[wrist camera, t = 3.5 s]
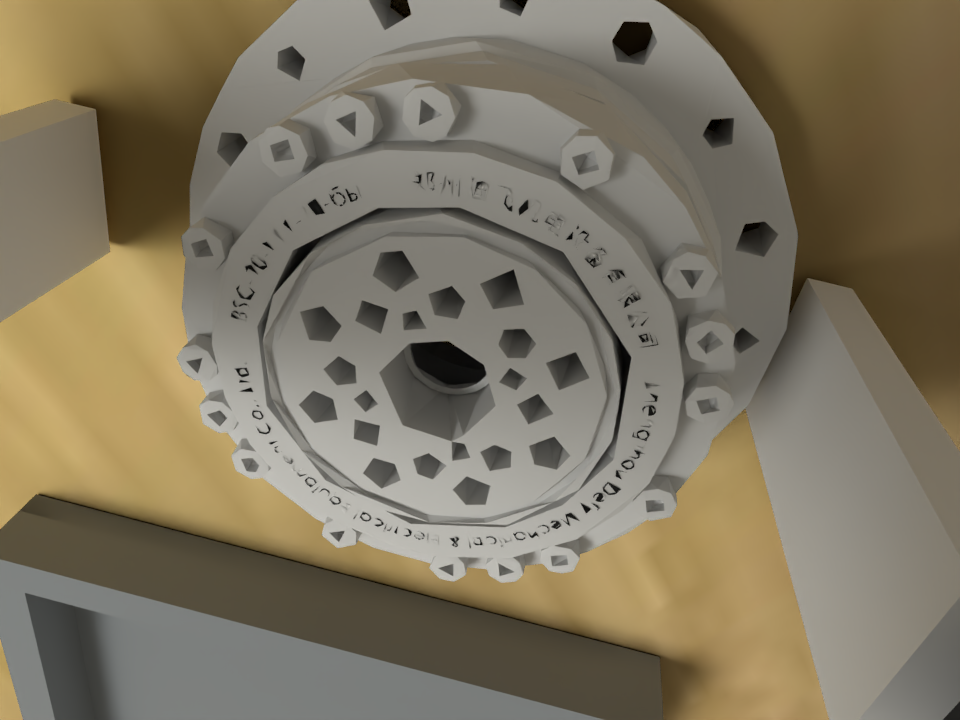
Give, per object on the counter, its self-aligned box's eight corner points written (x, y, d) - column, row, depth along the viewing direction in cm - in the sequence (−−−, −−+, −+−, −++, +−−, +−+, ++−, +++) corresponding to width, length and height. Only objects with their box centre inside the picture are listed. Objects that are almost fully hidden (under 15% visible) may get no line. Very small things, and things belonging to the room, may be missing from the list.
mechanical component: (797, 443, 14) (752, -159, 9) (864, 631, 10) (842, -216, 6) (339, 494, 17) (131, 45, 12) (259, 658, 13) (-85, 95, 8)
